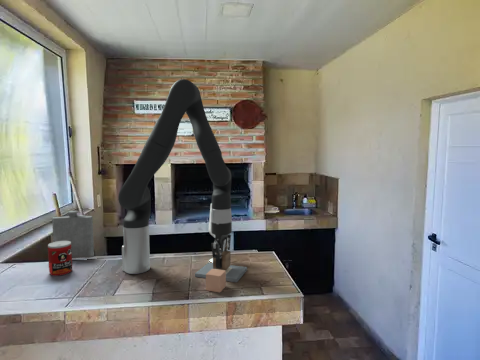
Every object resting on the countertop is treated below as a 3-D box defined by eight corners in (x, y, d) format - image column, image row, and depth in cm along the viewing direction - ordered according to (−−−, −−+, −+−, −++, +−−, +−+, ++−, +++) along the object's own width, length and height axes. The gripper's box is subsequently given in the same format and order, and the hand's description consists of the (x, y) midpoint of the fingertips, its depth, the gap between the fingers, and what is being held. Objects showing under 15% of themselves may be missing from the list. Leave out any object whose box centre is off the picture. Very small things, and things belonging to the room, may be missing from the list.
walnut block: (213, 268, 116) (212, 254, 115) (218, 264, 121) (218, 250, 120) (225, 270, 114) (225, 255, 114) (230, 265, 119) (230, 251, 119)
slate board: (195, 276, 115) (195, 272, 115) (208, 265, 126) (208, 261, 126) (236, 282, 110) (236, 278, 109) (247, 270, 121) (247, 266, 121)
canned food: (51, 277, 114) (50, 247, 113) (47, 271, 120) (45, 243, 119) (75, 272, 119) (73, 243, 118) (69, 266, 125) (68, 239, 124)
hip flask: (52, 259, 133) (50, 212, 131) (57, 256, 137) (54, 210, 135) (92, 257, 135) (90, 211, 134) (95, 254, 139) (93, 209, 138)
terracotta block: (206, 290, 103) (205, 274, 103) (212, 284, 108) (212, 268, 108) (220, 292, 102) (220, 276, 101) (225, 286, 107) (225, 270, 106)
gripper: (219, 215, 124) (219, 258, 125) (203, 223, 110) (204, 271, 112) (237, 217, 122) (237, 260, 123) (223, 225, 108) (224, 273, 110)
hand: (221, 265), depth 117 cm, fingers closed on walnut block, 4 cm apart
